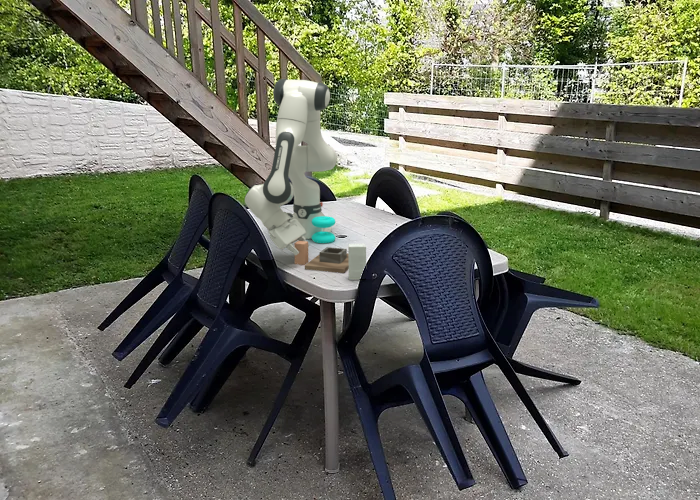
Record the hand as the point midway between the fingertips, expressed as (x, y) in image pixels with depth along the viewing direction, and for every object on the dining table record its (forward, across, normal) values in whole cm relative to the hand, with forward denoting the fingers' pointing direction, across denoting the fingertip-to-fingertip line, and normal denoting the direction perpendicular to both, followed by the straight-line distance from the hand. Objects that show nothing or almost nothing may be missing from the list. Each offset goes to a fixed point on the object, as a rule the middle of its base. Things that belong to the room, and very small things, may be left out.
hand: (302, 250), depth 237 cm
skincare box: (+21, -11, -14) cm, 27 cm away
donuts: (+1, +33, +6) cm, 34 cm away
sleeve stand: (+11, +3, -4) cm, 12 cm away
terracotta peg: (+3, 0, +4) cm, 5 cm away
